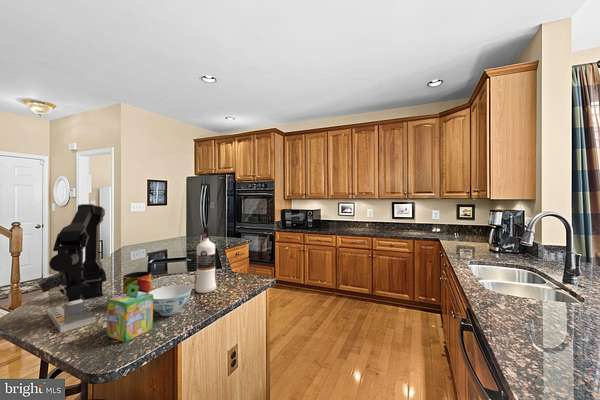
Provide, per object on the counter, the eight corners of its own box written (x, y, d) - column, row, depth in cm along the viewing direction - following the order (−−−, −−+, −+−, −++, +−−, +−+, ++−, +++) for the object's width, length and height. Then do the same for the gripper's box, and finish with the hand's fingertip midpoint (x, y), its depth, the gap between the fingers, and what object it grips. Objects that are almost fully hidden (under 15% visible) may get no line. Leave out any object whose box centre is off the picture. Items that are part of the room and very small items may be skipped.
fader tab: (82, 312, 91) (82, 298, 91) (84, 314, 89) (84, 300, 89) (64, 316, 87) (64, 302, 87) (66, 319, 86) (66, 304, 86)
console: (79, 306, 102) (79, 295, 102) (95, 322, 88) (95, 309, 88) (47, 314, 94) (47, 302, 94) (60, 332, 81) (60, 318, 81)
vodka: (219, 287, 125) (219, 225, 125) (211, 293, 115) (211, 227, 116) (200, 286, 125) (201, 225, 126) (191, 293, 116) (191, 227, 116)
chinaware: (199, 305, 102) (199, 286, 102) (173, 323, 87) (173, 300, 87) (166, 302, 105) (166, 284, 105) (136, 319, 90) (136, 297, 90)
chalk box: (105, 337, 78) (106, 288, 78) (135, 324, 87) (135, 280, 87) (124, 343, 75) (125, 292, 75) (153, 329, 83) (154, 283, 83)
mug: (150, 295, 114) (150, 268, 114) (151, 305, 102) (151, 275, 103) (124, 299, 109) (124, 271, 109) (122, 311, 97) (122, 279, 97)
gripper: (35, 265, 90) (35, 310, 90) (45, 274, 78) (44, 325, 78) (77, 260, 99) (76, 300, 98) (90, 267, 87) (90, 313, 87)
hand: (71, 309), depth 90 cm, fingers closed
